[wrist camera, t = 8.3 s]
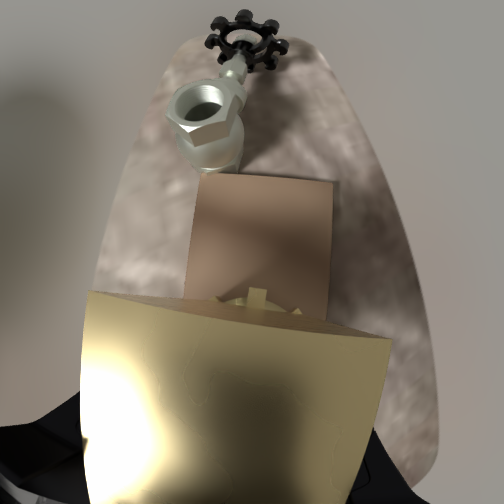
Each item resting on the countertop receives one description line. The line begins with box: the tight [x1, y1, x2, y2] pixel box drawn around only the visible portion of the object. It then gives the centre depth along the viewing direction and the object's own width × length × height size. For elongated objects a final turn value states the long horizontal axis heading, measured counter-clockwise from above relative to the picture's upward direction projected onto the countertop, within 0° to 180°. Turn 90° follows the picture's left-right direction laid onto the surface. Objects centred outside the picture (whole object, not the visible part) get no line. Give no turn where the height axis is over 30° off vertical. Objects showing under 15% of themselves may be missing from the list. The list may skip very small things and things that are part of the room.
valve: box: [165, 9, 289, 176], centre depth 17 cm, size 7×7×12 cm
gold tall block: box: [81, 287, 393, 504], centre depth 10 cm, size 7×7×12 cm
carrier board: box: [183, 173, 333, 321], centre depth 16 cm, size 24×9×1 cm, turn 174°
